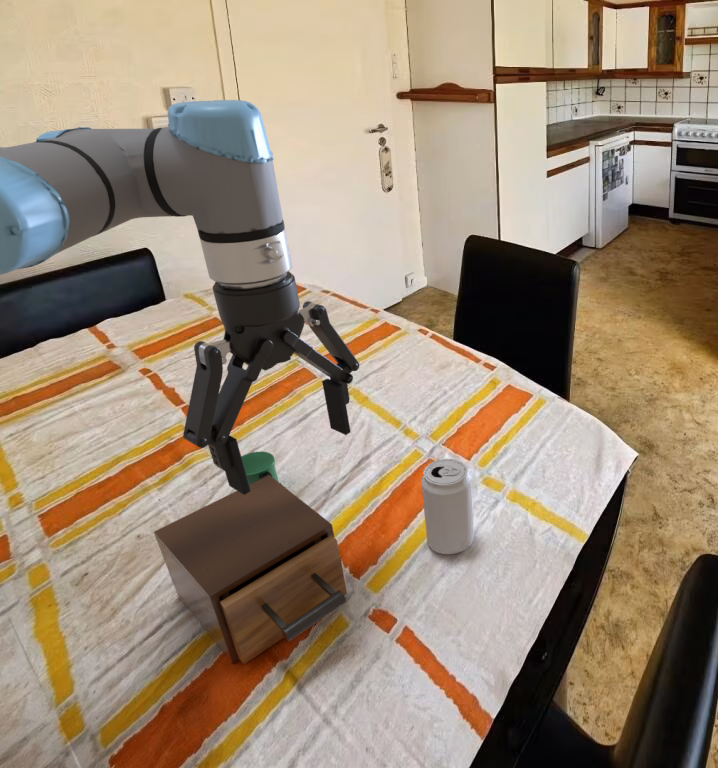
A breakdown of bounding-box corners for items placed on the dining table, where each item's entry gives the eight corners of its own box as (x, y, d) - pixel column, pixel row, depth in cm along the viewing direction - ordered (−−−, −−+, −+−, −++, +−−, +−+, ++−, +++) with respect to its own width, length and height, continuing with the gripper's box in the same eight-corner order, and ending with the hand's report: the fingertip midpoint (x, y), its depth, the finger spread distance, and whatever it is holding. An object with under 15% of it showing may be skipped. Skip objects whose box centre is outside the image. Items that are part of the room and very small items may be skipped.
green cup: (230, 490, 96) (221, 461, 93) (266, 473, 100) (259, 444, 97) (255, 512, 91) (246, 482, 89) (291, 493, 95) (285, 464, 93)
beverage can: (431, 525, 88) (424, 456, 83) (476, 526, 88) (472, 456, 82) (424, 558, 83) (416, 485, 77) (472, 558, 83) (468, 486, 77)
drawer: (376, 619, 73) (367, 563, 69) (271, 697, 64) (252, 639, 60) (290, 542, 84) (277, 491, 80) (190, 600, 76) (170, 545, 72)
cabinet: (344, 589, 78) (332, 524, 73) (233, 664, 69) (209, 596, 64) (284, 536, 87) (269, 474, 82) (178, 596, 78) (153, 531, 72)
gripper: (142, 328, 49) (209, 533, 59) (375, 250, 67) (396, 418, 77) (98, 308, 53) (168, 504, 63) (329, 240, 71) (355, 401, 81)
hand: (293, 457), depth 70 cm, fingers open, 13 cm apart
